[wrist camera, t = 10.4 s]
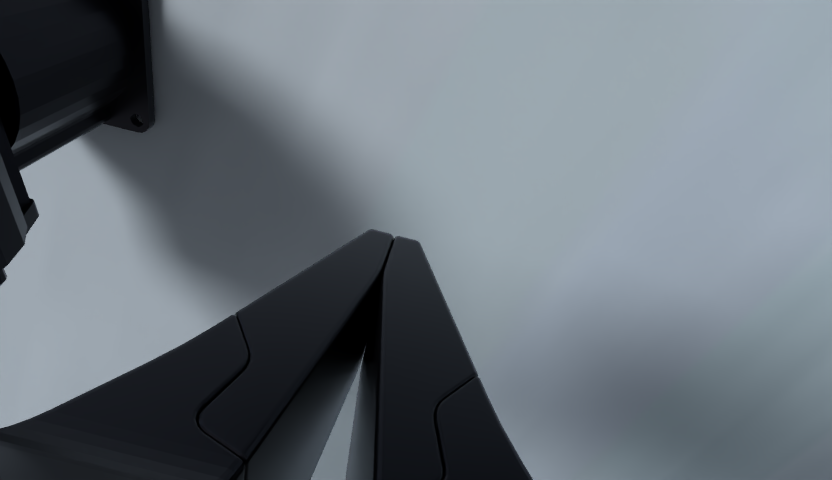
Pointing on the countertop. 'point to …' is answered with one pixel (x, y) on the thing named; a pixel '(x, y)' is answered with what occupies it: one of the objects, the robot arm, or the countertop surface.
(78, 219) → the countertop surface
